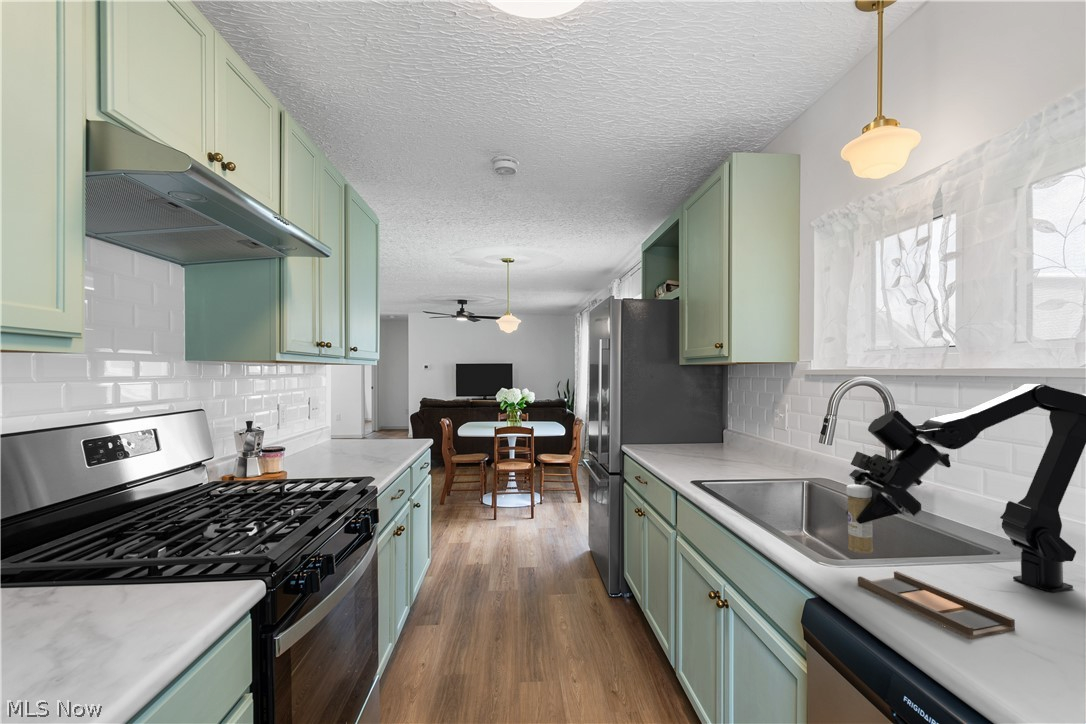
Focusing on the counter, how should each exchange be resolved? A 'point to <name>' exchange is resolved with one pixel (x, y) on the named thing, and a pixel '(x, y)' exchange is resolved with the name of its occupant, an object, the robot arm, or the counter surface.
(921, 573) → the counter surface
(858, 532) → the sprinkles bottle
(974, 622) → the board
